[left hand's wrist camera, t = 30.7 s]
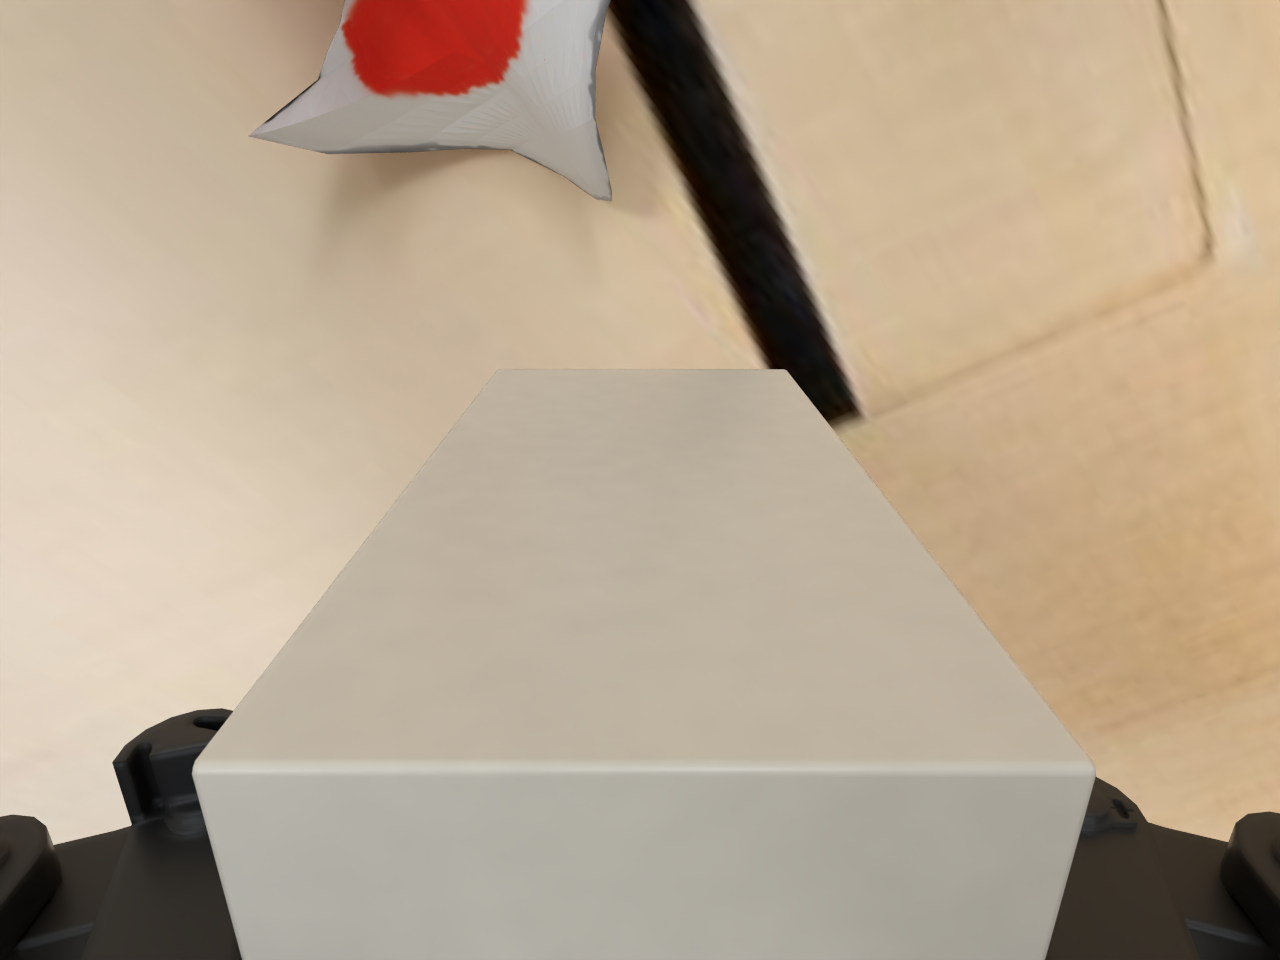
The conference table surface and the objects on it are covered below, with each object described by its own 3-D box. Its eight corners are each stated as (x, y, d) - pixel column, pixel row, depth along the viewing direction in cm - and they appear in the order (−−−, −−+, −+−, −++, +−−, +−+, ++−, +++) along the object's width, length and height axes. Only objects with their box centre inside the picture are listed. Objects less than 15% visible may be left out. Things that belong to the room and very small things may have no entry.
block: (515, 648, 19) (335, 1318, 8) (496, 368, 16) (184, 766, 5) (767, 648, 19) (950, 1320, 8) (787, 368, 16) (1104, 766, 5)
